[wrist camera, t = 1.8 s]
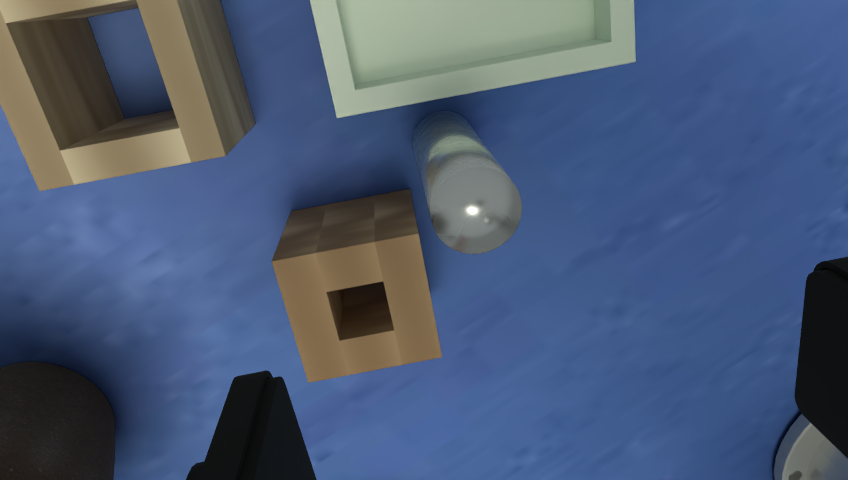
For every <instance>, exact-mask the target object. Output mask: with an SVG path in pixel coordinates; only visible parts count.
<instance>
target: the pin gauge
mask: <svg viewBox="0 0 848 480" xmlns="http://www.w3.org/2000/svg"><path fill="white" fill-rule="evenodd" d="M412 145H413V150H414V154H415V158H416V162H417V166H418V170H419V174H420V178H421V182H422V185H423V189H424V193H425V197H426V201H427V205H428V209H429V213H430V217H431V221H432V225H433V227H434V230H435V232H436V234H437V235H438V237H439V238H440V239H441V240H442V241H443V242H444V243H445V244H446V245H447V246H449V247H450V248H452V249H454V250H456V251H459V252H463V253H468V254H479V253H485V252H489V251H491V250H494V249H496V248H498V247H499V246H501V245H502V244H504V243H505V242H506V241H507V240H508V239H509V238H510V237H511V236H512V235H513V233H514V232H515V230H516V229H517V227H518V224H519V222H520V218H521V214H522V202H521V197H520V194H519V192H518V190H517V188H516V186H515V185H514V183H513V182H512V181H511V179H510V178H509V177H508V175H507V174H506V173H505V171H504V170H503V169H502V167H501V166H500V164H499V163H498V162H497V160H496V159H495V158H494V156H493V155H492V154H491V152H490V151H489V150H488V148H487V147H486V146H485V144H484V143H483V142H482V140H481V139H480V138H479V136H478V135H477V134H476V132H475V131H474V130H473V128H472V127H471V126H470V124H469V123H468V122H467V121H466V120H465V119H464V118H463V117H462V116H460V115H459V114H457V113H454V112H451V111H438V112H434V113H431V114H429V115H428V116H426V117H425V118H423V119H422V120H421V121H420V123H419V124H418V125H417V127H416V129H415V131H414V134H413V140H412Z"/></svg>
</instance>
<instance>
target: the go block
mask: <svg viewBox="0 0 848 480" xmlns="http://www.w3.org/2000/svg"><path fill="white" fill-rule="evenodd" d="M135 8H139V10H140V13H141V16H142V19H143V22H144V24H145V27H146V30H147V33H148V36H149V39H150V42H151V45H152V48H153V51H154V54H155V57H156V60H157V63H158V66H159V69H160V72H161V75H162V78H163V81H164V84H165V87H166V90H167V93H168V95H169V98H170V101H171V104H172V107H173V110H170V111H165V112H159V113H154V114H149V115H143V116H138V117H133V118H127V119H124V116H123V113H122V111H121V108H120V105H119V103H118V100H117V97H116V94H115V92H114V89H113V86H112V84H111V81H110V78H109V76H108V73H107V70H106V68H105V65H104V62H103V60H102V57H101V54H100V52H99V49H98V46H97V44H96V41H95V38H94V35H93V33H92V30H91V27H90V25H89V22H88V19H87V17H92V16H97V15H103V14H108V13H114V12H119V11H124V10H130V9H135ZM0 104H1V106H2V109H3V111H4V113H5V115H6V118H7V120H8V122H9V124H10V126H11V129H12V131H13V133H14V135H15V137H16V140H17V142H18V144H19V146H20V149H21V151H22V153H23V155H24V157H25V160H26V162H27V164H28V166H29V168H30V171H31V173H32V175H33V177H34V180H35V182H36V184H37V186H38V188H39V191H43V190H48V189H53V188H58V187H64V186H69V185H74V184H80V183H85V182H90V181H96V180H101V179H106V178H112V177H117V176H122V175H127V174H133V173H138V172H143V171H149V170H154V169H159V168H165V167H170V166H175V165H180V164H186V163H191V162H196V161H202V160H207V159H212V158H218V157H223V156H226V155H227V154H228V153H229V152H230V151H231V150H232V149H233V148H234V146H235V145H236V144H237V143H238V142H239V141H240V140H241V139H242V138H243V137H244V136H245V135H246V134H247V133H248V131H249V130H250V129H251V128H252V127H253V126H254V125H255V124H256V123H255V120H254V116H253V113H252V109H251V106H250V102H249V99H248V95H247V92H246V88H245V85H244V81H243V78H242V74H241V71H240V67H239V64H238V60H237V57H236V53H235V50H234V47H233V43H232V40H231V36H230V33H229V29H228V26H227V22H226V19H225V15H224V12H223V8H222V5H221V1H220V0H0Z"/></svg>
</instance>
